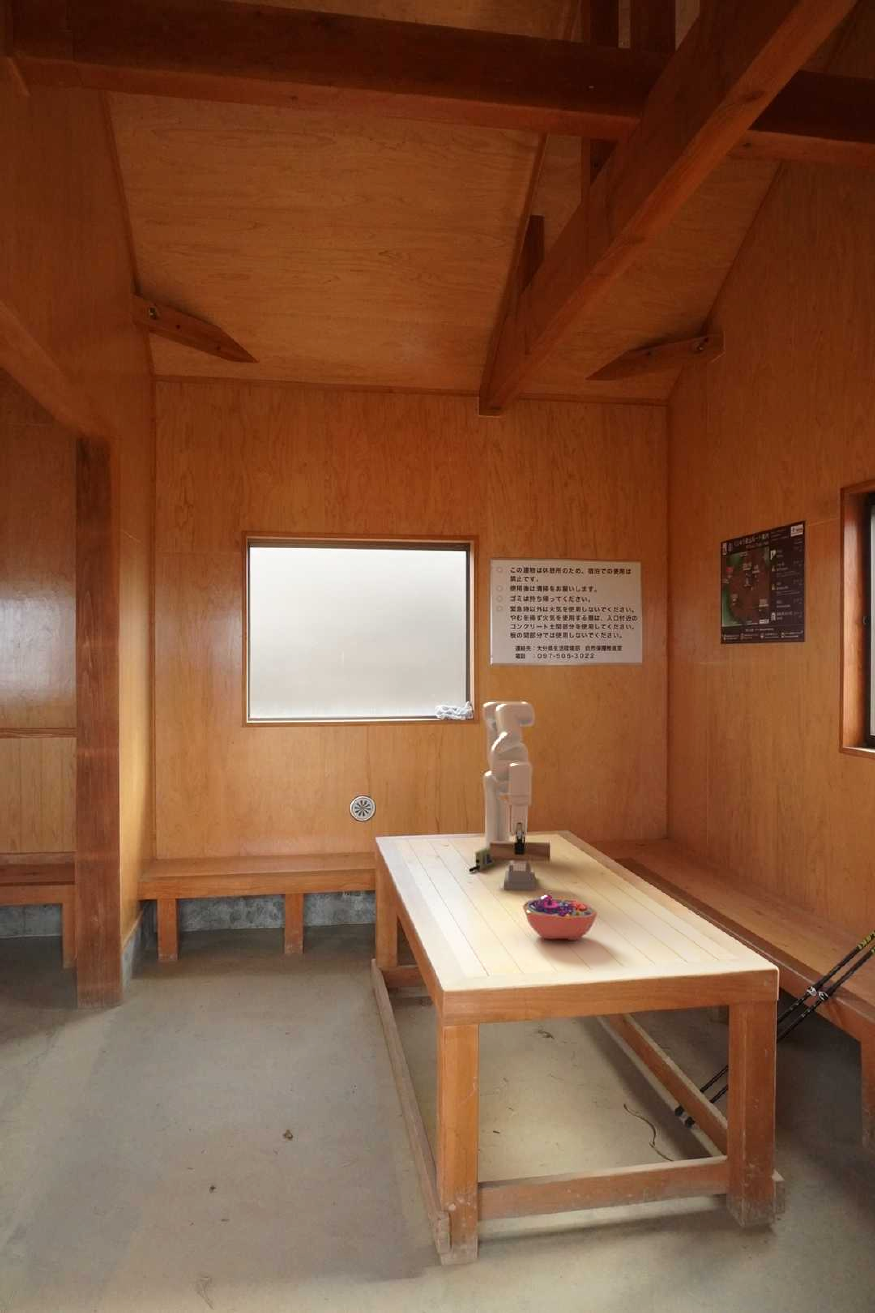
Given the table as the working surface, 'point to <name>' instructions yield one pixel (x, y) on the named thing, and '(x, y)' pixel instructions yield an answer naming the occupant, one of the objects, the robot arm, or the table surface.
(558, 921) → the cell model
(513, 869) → the ridge stand
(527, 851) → the walnut bar
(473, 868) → the handheld radio
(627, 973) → the table surface
